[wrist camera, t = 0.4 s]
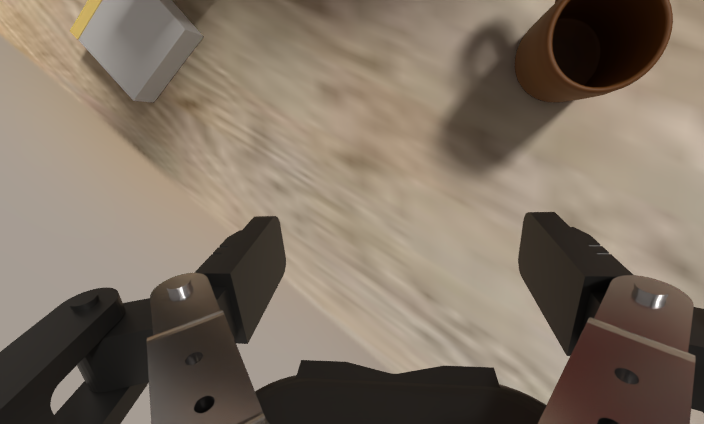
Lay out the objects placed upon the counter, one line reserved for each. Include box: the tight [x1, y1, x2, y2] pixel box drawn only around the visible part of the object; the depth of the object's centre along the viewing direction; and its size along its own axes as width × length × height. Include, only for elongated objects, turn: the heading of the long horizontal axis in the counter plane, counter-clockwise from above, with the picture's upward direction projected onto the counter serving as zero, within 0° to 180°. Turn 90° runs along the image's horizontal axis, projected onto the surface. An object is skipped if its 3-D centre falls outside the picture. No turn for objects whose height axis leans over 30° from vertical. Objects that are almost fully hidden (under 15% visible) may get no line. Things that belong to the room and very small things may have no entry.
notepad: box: [70, 0, 204, 102], centre depth 38 cm, size 10×10×3 cm
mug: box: [515, 0, 673, 102], centre depth 27 cm, size 12×8×9 cm, turn 16°
